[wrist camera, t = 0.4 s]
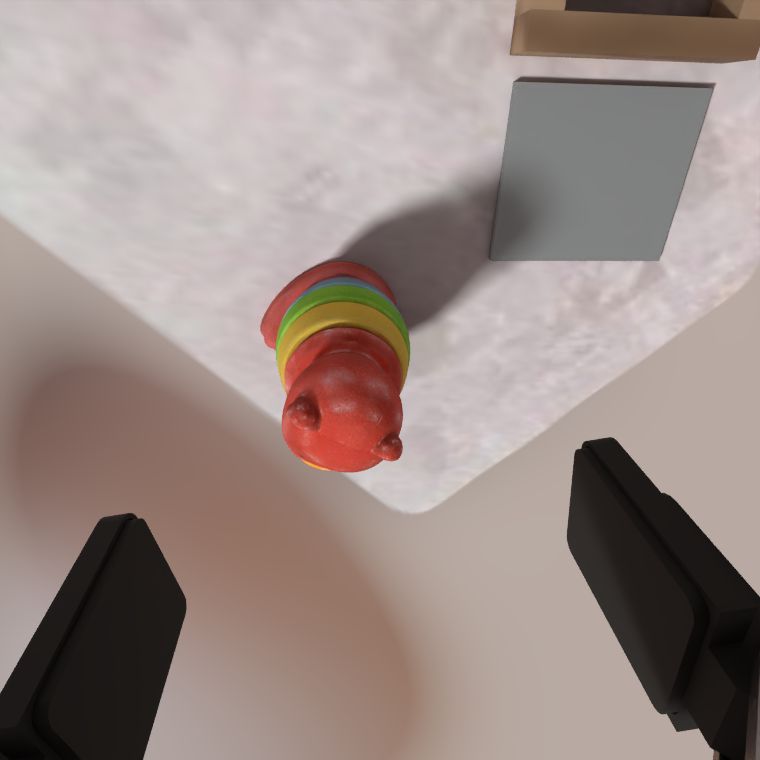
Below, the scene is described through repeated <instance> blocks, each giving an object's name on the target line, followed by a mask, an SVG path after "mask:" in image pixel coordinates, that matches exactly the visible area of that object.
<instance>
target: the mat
mask: <svg viewBox="0 0 760 760" xmlns="http://www.w3.org/2000/svg"><path fill="white" fill-rule="evenodd" d="M712 91H713V88H687V87H658V86H628V85H599V84H570V83H541V82H513V89H512V96H511V103H510V111H509V118H508V125H507V133H506V140H505V147H504V154H503V162H502V169H501V176H500V183H499V191H498V198H497V205H496V213H495V220H494V227H493V234H492V242H491V249H490V256H489V259H490V260H491V261H659V260H660V256H661V253H662V250H663V247H664V244H665V240H666V237H667V234H668V231H669V228H670V225H671V221H672V218H673V215H674V212H675V209H676V205H677V202H678V199H679V196H680V193H681V189H682V186H683V183H684V180H685V177H686V174H687V170H688V167H689V164H690V161H691V158H692V154H693V151H694V148H695V145H696V142H697V138H698V135H699V132H700V129H701V126H702V123H703V119H704V116H705V113H706V110H707V107H708V103H709V100H710V97H711V94H712Z"/></svg>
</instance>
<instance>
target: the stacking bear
mask: <svg viewBox="0 0 760 760" xmlns="http://www.w3.org/2000/svg"><path fill="white" fill-rule="evenodd" d="M261 333H262V334H263V336H264V340H265V343H266V345H267V346H268V347H270V348H273V349H275V350H276V359H277V366H278V369H279V374H280V378H281V382H282V385H283V388H284V390H285V392H286V394H287V398H286V402H285V406H284V409H283V415H282V432H283V436H284V439H285V441H286V443H287V445H288V447H289V448H290V449H291V451H292V452H293V453H294V454H295V455H296V456H297V457H299V458H300V459H301V460H303V461H304V462H305V463H307V464H308V465H310V466H312V467H315V468H318V469H322V470H330V471H338V472H359V471H363V470H367V469H369V468H372V467H374V466H375V465H377V464H379V463H380V462H381V461H382V460H383V459H384V460H387V461H395V460H398V459H399V458H400V456H401V454H402V449H403V446H402V442H401V440H400V438H399V437H398V436H399V434H400V430H401V427H402V420H403V410H402V403H401V399H400V396H399V395H400V393H401V391H402V389H403V386H404V383H405V380H406V376H407V371H408V367H409V360H410V342H409V335H408V331H407V328H406V325H405V322H404V320H403V318H402V316H401V314H400V312H399V311H398V309H397V308H396V303H395V299H394V297H393V294H392V292H391V290H390V288H389V287H388V285H387V284H386V283H385V281H384V280H383V279H382V278H381V277H380V276H378V275H377V274H376V273H375V272H373V271H372V270H370V269H368V268H366V267H364V266H361V265H358V264H355V263H350V262H332V263H327V264H324V265H321V266H318V267H316V268H314V269H312V270H309V271H307V272H306V273H304V274H302V275H301V276H299V277H297V278H296V279H295V280H293V281H292V282H291V283H290V284H288V285H287V286H286V287H285V288H284V289H283V290H282V291H281V292H280V293H279V294H278V295H277V296H276V298H275V299H274V300H273V301H272V303H271V304H270V306H269V308H268V309H267V311H266V313H265V315H264V317H263V319H262V323H261Z"/></svg>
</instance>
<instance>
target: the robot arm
mask: <svg viewBox="0 0 760 760" xmlns="http://www.w3.org/2000/svg"><path fill="white" fill-rule="evenodd" d="M567 541H568V546H569V549H570V551H571V553H572V555H573V557H574V559H575V561H576V563H577V565H578V566H579V568H580V570H581V572H582V574H583V576H584V578H585V579H586V581H587V583H588V585H589V587H590V589H591V591H592V593H593V594H594V596H595V598H596V600H597V602H598V604H599V606H600V607H601V609H602V611H603V613H604V615H605V617H606V619H607V620H608V622H609V624H610V626H611V628H612V630H613V632H614V633H615V635H616V637H617V639H618V641H619V643H620V645H621V647H622V648H623V650H624V652H625V654H626V656H627V658H628V660H629V662H630V663H631V665H632V667H633V669H634V671H635V673H636V674H637V676H638V678H639V680H640V682H641V684H642V686H643V688H644V689H645V691H646V693H647V695H648V697H649V699H650V701H651V703H652V704H653V706H654V708H655V709H656V710H657V711H658V712H659V713H660V714H667V715H668V717H669V718H670V720H671V722H672V724H673V726H674V727H675V729H676V731H677V732H679V731H685V730H692V729H698V728H699V729H700V731H701V733H702V735H703V736H704V738H705V740H706V741H707V743H708V745H709V746H710V748H712V749H713V750H714V755H713V760H760V597H759V595H757V593H756V592H755V591H754V590H753V589H752V587H751V586H750V585H749V584H748V583H747V582H746V581H745V580H744V578H743V577H741V575H740V574H739V573H738V571H737V570H736V569H735V568H734V567H733V566H732V565H731V563H730V562H729V561H728V560H727V559H726V558H725V557H724V555H723V554H722V553H721V552H720V551H719V550H718V549H717V548H716V546H714V544H713V543H712V542H711V541H710V539H709V538H708V537H707V536H706V535H705V534H704V533H703V532H702V530H701V529H700V528H699V527H698V526H697V525H696V523H695V522H694V521H693V520H692V519H691V518H690V516H689V515H688V514H687V513H686V512H685V511H684V510H683V509H682V507H681V506H680V505H679V504H678V503H677V502H676V501H675V500H674V499H673V498H672V497H671V496H669V495H667V494H665V493H661V492H660V491H659V490H658V488H657V487H656V486H655V485H654V484H653V483H652V481H651V480H650V479H649V478H648V477H647V476H646V475H645V473H644V472H643V471H642V470H641V469H640V467H639V466H638V465H637V464H636V463H635V462H634V460H633V459H632V458H631V457H630V456H629V454H628V453H627V452H626V451H625V450H624V449H623V447H622V446H621V445H620V444H619V443H618V442H617V441H616V440H615V439H614V438H611V437H609V438H603V439H597V440H590V441H585V442H584V443H583V444H582V448H581V449H577V450H576V451H575V455H574V465H573V476H572V487H571V497H570V507H569V518H568V528H567ZM185 613H186V599H185V596H184V594H183V592H182V590H181V588H180V586H179V584H178V583H177V581H176V579H175V577H174V575H173V573H172V571H171V569H170V567H169V565H168V563H167V561H166V560H165V558H164V556H163V554H162V552H161V550H160V548H159V546H158V544H157V542H156V541H155V539H154V537H153V535H152V533H151V531H150V529H149V527H148V526H147V523H146V522H145V520H144V519H138V518H137V517H136V516H135V515H134V514H133V513H127V514H121V515H114V516H108V517H103V518H102V519H100V521H99V522H98V523H97V525H96V527H95V528H94V530H93V532H92V534H91V535H90V537H89V539H88V541H87V542H86V544H85V546H84V548H83V549H82V551H81V553H80V555H79V557H78V558H77V560H76V562H75V563H74V565H73V567H72V569H71V570H70V572H69V574H68V576H67V577H66V579H65V581H64V583H63V585H62V586H61V588H60V590H59V591H58V593H57V595H56V597H55V599H54V600H53V602H52V604H51V605H50V607H49V609H48V611H47V612H46V615H45V616H44V618H43V620H42V621H41V623H40V625H39V627H38V628H37V630H36V632H35V634H34V635H33V637H32V639H31V641H30V642H29V644H28V646H27V648H26V649H25V651H24V653H23V655H22V656H21V658H20V660H19V662H18V663H17V665H16V667H15V669H14V671H13V672H12V674H11V676H10V677H9V679H8V681H7V683H6V684H5V686H4V688H3V690H2V691H1V693H0V760H143V757H144V754H145V751H146V747H147V744H148V740H149V737H150V734H151V730H152V727H153V723H154V720H155V716H156V713H157V710H158V706H159V703H160V699H161V696H162V693H163V689H164V686H165V682H166V679H167V675H168V672H169V669H170V665H171V662H172V658H173V655H174V651H175V648H176V645H177V641H178V638H179V635H180V631H181V628H182V624H183V621H184V617H185Z"/></svg>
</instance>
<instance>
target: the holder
mask: <svg viewBox="0 0 760 760" xmlns="http://www.w3.org/2000/svg"><path fill="white" fill-rule="evenodd" d="M565 4H566V0H517V4H516V11H515V19H514V27H513V34H512V42H511V49H510V55H520V56H545V57H571V58H596V59H622V60H647V61H673V62H698V63H730V62H738V61H747V60H755V59H756V56H757V53H758V51H759V48H760V0H713V1H712V5H711V8H710V11H709V15H708V17H690V16H669V15H648V14H627V13H606V12H585V11H564V10H565Z"/></svg>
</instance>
